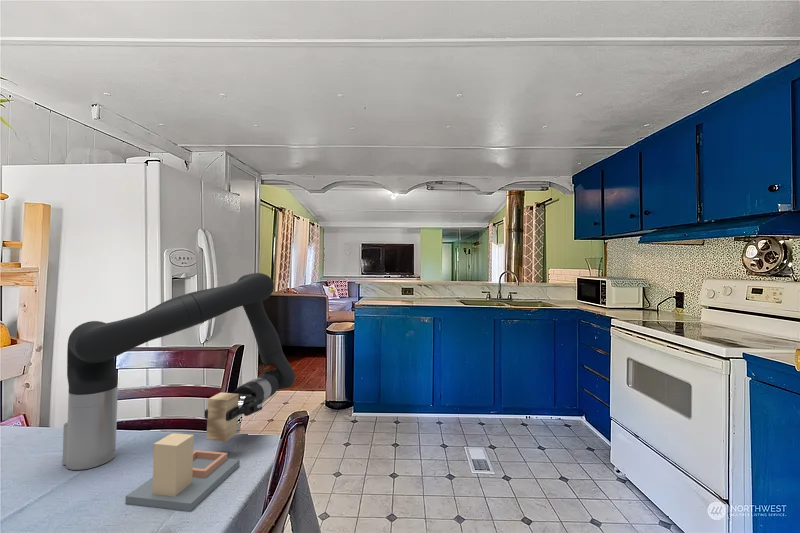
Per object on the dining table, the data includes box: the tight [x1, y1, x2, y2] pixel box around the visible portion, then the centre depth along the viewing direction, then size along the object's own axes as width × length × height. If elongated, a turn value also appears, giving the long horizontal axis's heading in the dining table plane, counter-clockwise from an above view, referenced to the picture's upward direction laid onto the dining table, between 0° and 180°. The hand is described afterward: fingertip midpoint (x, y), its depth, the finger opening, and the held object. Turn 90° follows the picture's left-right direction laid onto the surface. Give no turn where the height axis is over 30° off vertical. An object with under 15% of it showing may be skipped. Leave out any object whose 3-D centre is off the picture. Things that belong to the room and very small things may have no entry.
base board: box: [125, 432, 241, 512], centre depth 81 cm, size 14×17×12 cm
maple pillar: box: [206, 392, 239, 442], centre depth 94 cm, size 5×5×10 cm
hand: (216, 415), depth 92 cm, fingers closed on maple pillar, 5 cm apart
